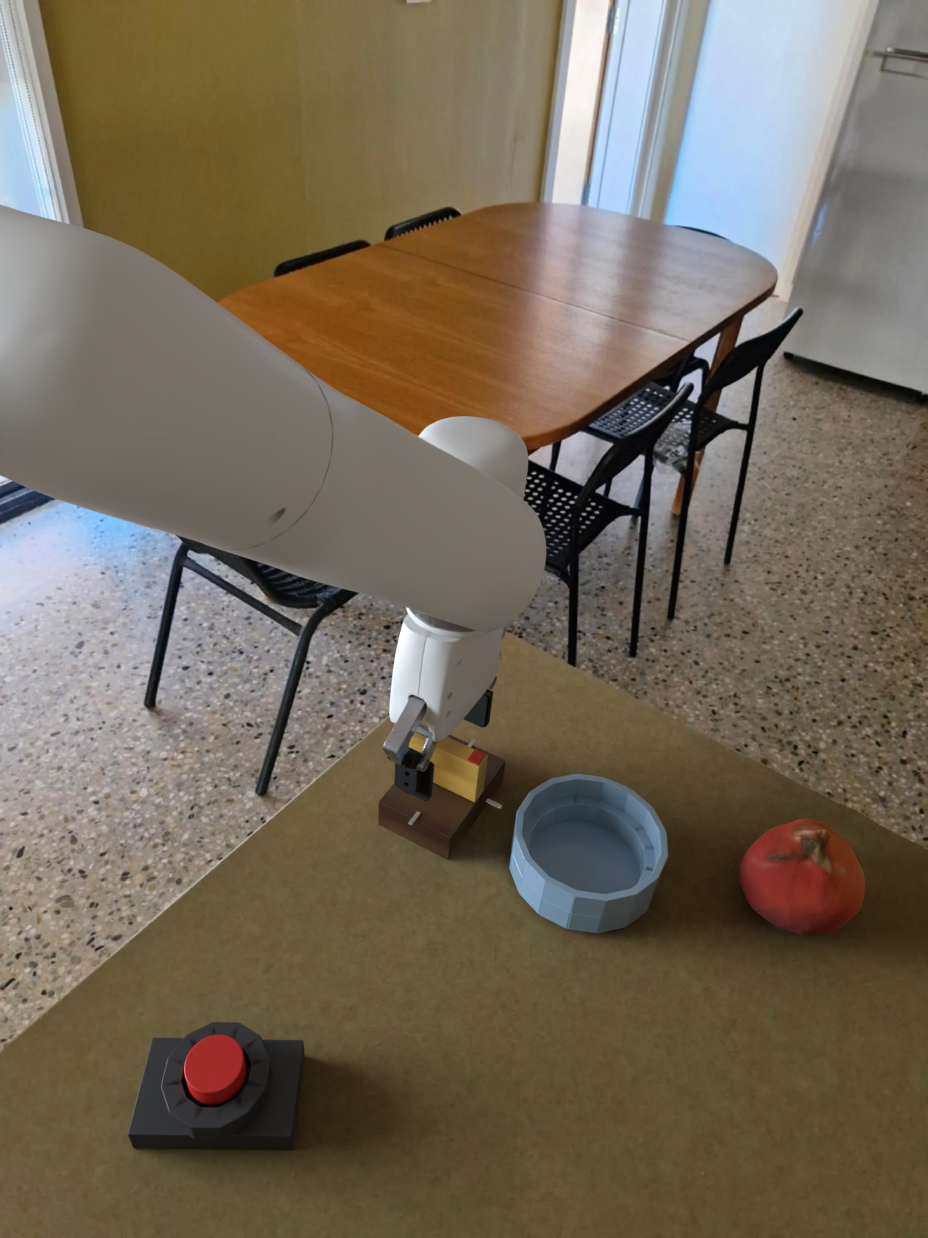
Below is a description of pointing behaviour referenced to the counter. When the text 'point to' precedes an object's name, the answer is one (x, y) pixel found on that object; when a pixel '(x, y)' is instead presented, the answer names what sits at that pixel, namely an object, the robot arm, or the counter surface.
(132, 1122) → the button box
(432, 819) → the base
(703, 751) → the counter surface
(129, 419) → the robot arm
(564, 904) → the basin
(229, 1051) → the button
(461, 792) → the yellow block red tip
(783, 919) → the tomato
